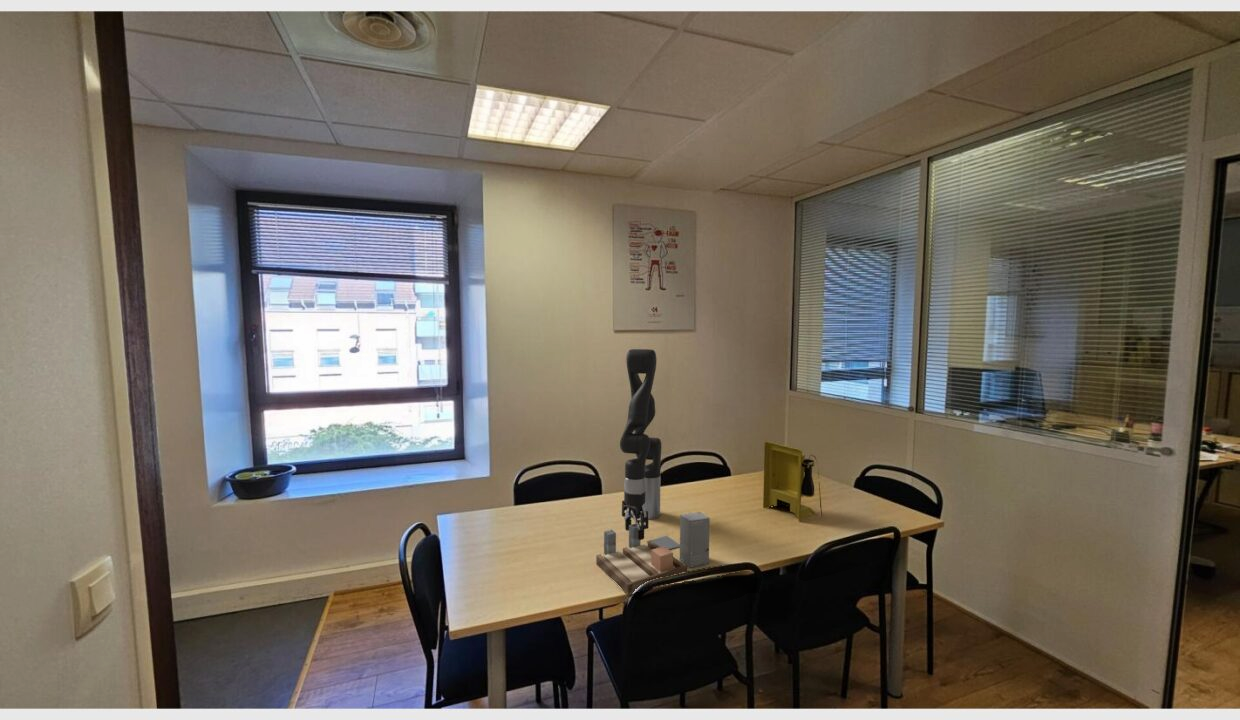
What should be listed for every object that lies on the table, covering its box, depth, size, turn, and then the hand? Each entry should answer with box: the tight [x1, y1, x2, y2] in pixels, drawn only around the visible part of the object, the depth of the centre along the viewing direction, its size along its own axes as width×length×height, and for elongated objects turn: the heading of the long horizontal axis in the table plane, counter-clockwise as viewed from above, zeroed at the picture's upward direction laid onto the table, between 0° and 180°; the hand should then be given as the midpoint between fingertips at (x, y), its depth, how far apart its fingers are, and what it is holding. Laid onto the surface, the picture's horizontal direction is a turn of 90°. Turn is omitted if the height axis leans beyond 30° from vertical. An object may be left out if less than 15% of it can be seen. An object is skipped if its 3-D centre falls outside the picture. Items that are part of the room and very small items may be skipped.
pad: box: [646, 535, 680, 551], centre depth 167 cm, size 9×9×1 cm
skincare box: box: [679, 511, 710, 568], centre depth 155 cm, size 8×7×16 cm
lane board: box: [595, 540, 688, 596], centre depth 149 cm, size 21×22×3 cm
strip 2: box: [628, 523, 675, 573], centre depth 153 cm, size 22×6×8 cm, turn 30°
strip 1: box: [603, 529, 649, 582], centre depth 148 cm, size 22×6×8 cm, turn 30°
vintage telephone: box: [762, 441, 823, 522], centre depth 196 cm, size 31×14×30 cm, turn 34°
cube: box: [651, 546, 674, 572], centre depth 147 cm, size 5×5×5 cm
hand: (634, 534), depth 161 cm, fingers open, 8 cm apart
